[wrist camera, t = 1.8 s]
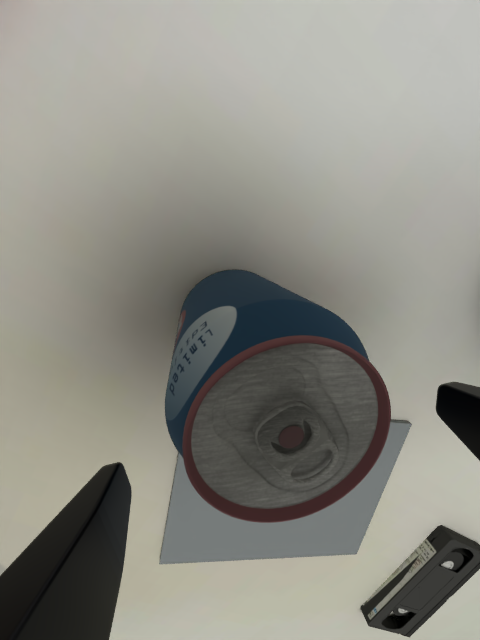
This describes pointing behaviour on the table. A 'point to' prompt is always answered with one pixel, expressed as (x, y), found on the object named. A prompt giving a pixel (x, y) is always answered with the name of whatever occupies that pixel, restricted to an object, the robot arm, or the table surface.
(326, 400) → the soda can
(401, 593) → the vhs tape
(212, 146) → the table surface
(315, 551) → the desk mat
